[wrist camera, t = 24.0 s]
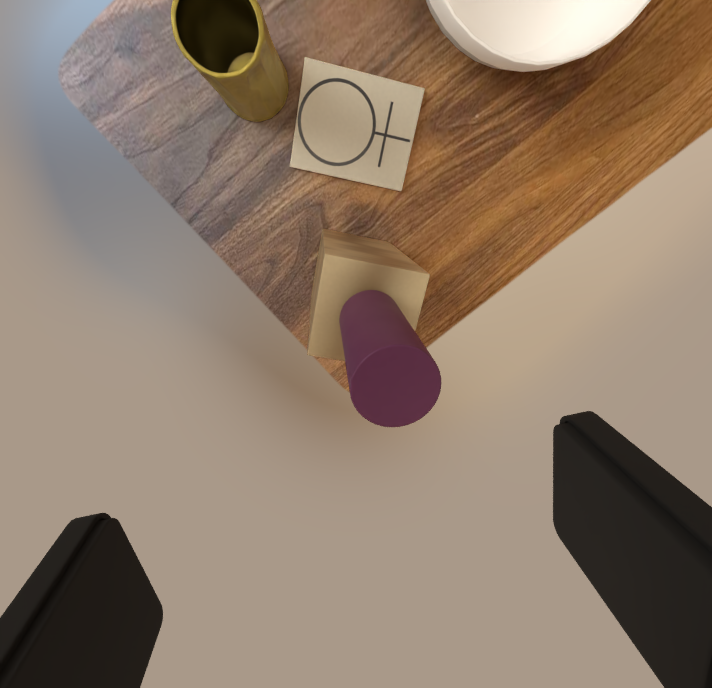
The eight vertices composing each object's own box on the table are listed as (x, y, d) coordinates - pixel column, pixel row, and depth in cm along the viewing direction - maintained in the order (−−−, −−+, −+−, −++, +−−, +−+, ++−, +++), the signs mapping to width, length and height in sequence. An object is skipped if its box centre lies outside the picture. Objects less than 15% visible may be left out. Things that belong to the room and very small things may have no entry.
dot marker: (333, 338, 28) (341, 421, 18) (345, 281, 27) (360, 337, 17) (390, 348, 29) (428, 433, 19) (404, 292, 27) (452, 352, 17)
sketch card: (290, 167, 40) (289, 166, 39) (305, 58, 37) (304, 56, 36) (400, 191, 41) (401, 191, 41) (423, 89, 38) (425, 87, 38)
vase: (272, 134, 38) (248, 107, 25) (208, 99, 37) (147, 51, 24) (299, 66, 37) (288, -2, 23) (233, 27, 35) (182, -69, 22)
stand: (311, 294, 44) (306, 355, 28) (322, 228, 42) (324, 253, 26) (374, 306, 45) (404, 370, 29) (389, 241, 43) (430, 274, 27)
